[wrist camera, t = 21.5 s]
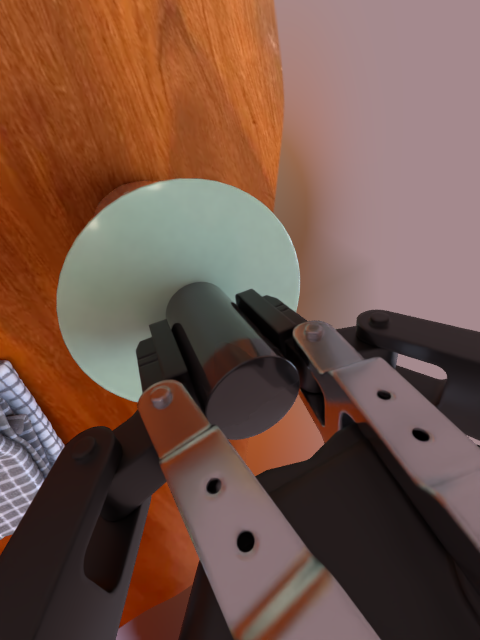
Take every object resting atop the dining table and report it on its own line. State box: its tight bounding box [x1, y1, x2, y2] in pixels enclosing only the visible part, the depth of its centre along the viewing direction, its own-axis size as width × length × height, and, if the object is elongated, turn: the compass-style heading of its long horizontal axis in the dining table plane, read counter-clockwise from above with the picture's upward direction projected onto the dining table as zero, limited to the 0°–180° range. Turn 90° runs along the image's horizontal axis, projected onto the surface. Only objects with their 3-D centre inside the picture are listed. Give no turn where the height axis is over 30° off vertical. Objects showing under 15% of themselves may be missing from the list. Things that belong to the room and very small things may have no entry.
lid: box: [57, 178, 300, 440], centre depth 11 cm, size 11×11×7 cm
